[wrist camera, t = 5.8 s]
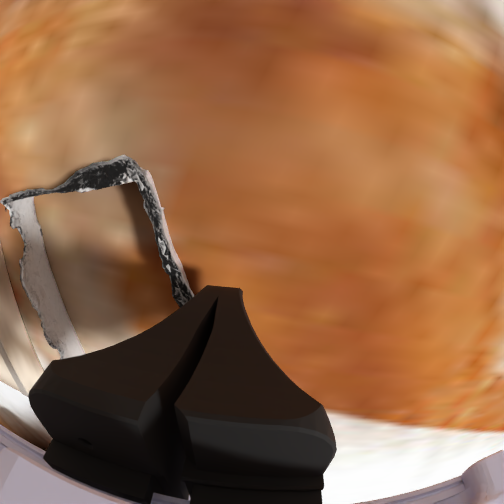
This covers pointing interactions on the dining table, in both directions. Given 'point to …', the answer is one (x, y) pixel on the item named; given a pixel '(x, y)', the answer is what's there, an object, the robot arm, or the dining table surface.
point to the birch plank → (15, 341)
